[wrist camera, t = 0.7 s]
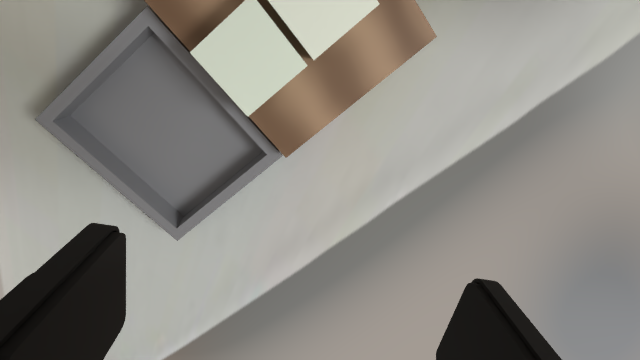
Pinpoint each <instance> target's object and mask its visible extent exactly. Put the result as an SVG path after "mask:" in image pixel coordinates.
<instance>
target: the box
mask: <svg viewBox="0 0 640 360" xmlns="http://www.w3.org/2000/svg"><path fill="white" fill-rule="evenodd" d="M35 120H36V121H37V122H38V123H39V124H41V125H42V126H43V127H44V128H45V129H47V130H48V131H49V132H50V133H51V134H52V135H54V136H55V137H56V138H57V139H58V140H59V141H61V142H62V143H63V144H64V145H65V146H66V147H68V148H69V149H70V150H71V151H72V152H74V153H75V154H76V155H77V156H78V157H79V158H81V159H82V160H83V161H84V162H85V163H86V164H88V165H89V166H90V167H91V168H92V169H93V170H95V171H96V172H97V173H98V174H99V175H101V176H102V177H103V178H104V179H105V180H106V181H108V182H109V183H110V184H111V185H112V186H113V187H115V188H116V189H117V190H118V191H119V192H120V193H122V194H123V195H124V196H125V197H126V198H128V199H129V200H130V201H131V202H132V203H133V204H135V205H136V206H137V207H138V208H139V209H140V210H142V211H143V212H144V213H145V214H146V215H147V216H149V217H150V218H151V219H152V220H153V221H155V222H156V223H157V224H158V225H159V226H160V227H162V228H163V229H164V230H165V231H166V232H167V233H169V234H170V235H171V236H172V237H173V238H174V239H176V240H177V241H178V240H179V239H180V238H181V237H183V236H184V235H185V234H186V233H187V232H189V231H190V230H191V229H192V228H194V227H195V226H196V225H197V224H199V223H200V222H201V221H202V220H204V219H205V218H206V217H207V216H209V215H210V214H211V213H212V212H214V211H215V210H216V209H217V208H218V207H220V206H221V205H222V204H223V203H225V202H226V201H227V200H228V199H230V198H231V197H232V196H233V195H235V194H236V193H237V192H238V191H240V190H241V189H242V188H243V187H244V186H246V185H247V184H248V183H249V182H251V181H252V180H253V179H254V178H256V177H257V176H258V175H259V174H261V173H262V172H263V171H264V170H266V169H267V168H268V167H269V166H271V165H272V164H273V163H274V162H275V161H277V160H278V159H279V158H280V157H282V153H281V152H280V151H279V150H278V148H277V147H276V146H275V145H274V144H273V143H272V142H271V141H270V140H269V138H268V137H267V136H266V135H265V134H264V133H263V132H262V131H261V130H260V128H259V127H258V126H257V125H256V124H255V123H254V122H253V121H252V120H251V118H250V117H249V116H248V117H247V116H246V115H245V113H244V112H243V111H242V110H241V109H240V108H239V107H238V106H237V105H236V103H235V102H234V101H233V100H232V99H231V98H230V97H229V96H228V95H227V93H226V92H225V91H224V90H223V89H222V88H221V87H220V86H219V85H218V83H217V82H216V81H215V80H214V79H213V78H212V77H211V76H210V75H209V73H208V72H207V71H206V70H205V69H204V68H203V67H202V66H201V65H200V64H199V62H198V61H197V60H196V59H195V58H194V57H193V56H192V55H191V54H190V51H189V50H188V48H187V47H186V46H185V45H184V44H183V43H182V42H181V41H180V40H179V38H178V37H177V36H176V35H175V34H174V33H173V32H172V31H171V30H170V28H169V27H168V26H167V25H166V24H165V23H164V22H163V21H162V20H161V18H160V17H159V16H158V15H157V14H156V13H155V12H154V11H153V10H152V8H151V7H148V6H147V7H146V8H145V9H144V10H143V11H142V12H141V13H140V14H139V15H138V16H137V17H136V18H135V19H134V20H133V21H132V22H131V23H130V24H129V25H128V26H127V27H126V28H125V29H124V30H123V31H122V32H121V33H120V34H119V35H118V36H117V37H116V38H115V39H114V40H113V41H112V42H111V43H110V44H109V45H108V46H107V47H106V48H105V49H104V50H103V51H102V52H101V53H100V54H99V55H98V56H97V57H96V58H95V59H94V60H93V61H92V62H91V63H90V64H89V65H88V66H87V67H86V68H85V69H84V70H83V71H82V72H81V73H80V74H79V75H78V76H77V77H76V78H75V79H74V80H73V82H72V83H71V84H70V85H69V86H68V87H67V88H66V89H65V90H64V91H63V92H62V93H61V94H60V95H59V96H58V97H57V98H56V99H55V100H54V101H53V102H52V103H51V104H50V105H49V106H48V107H47V108H46V109H45V110H44V111H43V112H42V113H41V114H40V115H39V116H38V117H37V118H36V119H35Z"/></svg>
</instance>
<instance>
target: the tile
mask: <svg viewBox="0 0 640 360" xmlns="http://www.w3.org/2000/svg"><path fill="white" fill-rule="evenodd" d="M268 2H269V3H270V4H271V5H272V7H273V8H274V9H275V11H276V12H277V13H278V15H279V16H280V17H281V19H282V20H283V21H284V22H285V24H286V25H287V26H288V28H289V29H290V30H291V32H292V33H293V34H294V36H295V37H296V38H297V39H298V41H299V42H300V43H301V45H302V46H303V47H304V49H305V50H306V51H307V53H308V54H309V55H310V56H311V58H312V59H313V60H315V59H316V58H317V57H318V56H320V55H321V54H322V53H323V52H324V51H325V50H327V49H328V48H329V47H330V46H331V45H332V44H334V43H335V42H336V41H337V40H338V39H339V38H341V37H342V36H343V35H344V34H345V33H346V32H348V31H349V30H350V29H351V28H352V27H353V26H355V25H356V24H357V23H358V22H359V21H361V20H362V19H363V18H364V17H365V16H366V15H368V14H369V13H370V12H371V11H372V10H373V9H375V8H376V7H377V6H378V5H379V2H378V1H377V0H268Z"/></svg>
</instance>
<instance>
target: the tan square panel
mask: <svg viewBox="0 0 640 360" xmlns="http://www.w3.org/2000/svg"><path fill="white" fill-rule="evenodd" d="M144 1H145V2H146V3H147V4H148V5H149V6H150V7H151V8H152V10H153V11H154V12H155V13H156V14H157V15H158V16H159V17H160V18H161V20H162V21H163V22H164V23H165V24H166V25H167V26H168V27H169V28H170V30H171V31H172V32H173V33H174V34H175V35H176V36H177V37H178V38H179V40H180V41H181V42H182V43H183V44H184V45H185V46H186V47H187V48H188V50H189V51H190V52H191V51H192V50H193V49H194V48H195V47H196V46H197V45H198V44H199V43H200V42H201V41H202V40H204V39H205V38H206V37H207V36H208V35H209V34H210V33H211V32H212V31H213V30H214V29H215V28H216V27H217V26H218V25H219V24H220V23H222V22H223V21H224V20H225V19H226V18H227V17H228V16H229V15H230V14H231V13H232V12H233V11H234V10H235V9H236V8H237V7H239V6H240V5H241V4H242V3H243V2H244V1H245V0H144ZM257 1H258V2H259V3H260V4H261V6H262V7H263V8H264V10H265V11H266V12H267V13H268V15H269V16H270V17H271V19H272V20H273V21H274V22H275V24H276V25H277V26H278V28H279V29H280V30H281V31H282V33H283V34H284V35H285V37H286V38H287V39H288V40H289V42H290V43H291V44H292V46H293V47H294V48H295V50H296V51H297V52H298V53H299V55H300V56H301V57H302V59H303V60H304V61H305V62H306V64H307V67H306V68H304V69H303V70H302V71H301V72H300V73H299V74H297V75H296V76H295V77H294V78H293V79H292V80H290V81H289V82H288V83H287V84H286V85H285V86H283V87H282V88H281V89H280V90H279V91H278V92H276V93H275V94H274V95H273V96H272V97H270V98H269V99H268V100H267V101H266V102H265V103H263V104H262V105H261V106H260V107H259V108H258V109H256V110H255V111H254V112H253V113H252V114H251V115H249V117H250V118H251V120H252V121H253V122H254V123H255V124H256V125H257V126H258V127H259V128H260V130H261V131H262V132H263V133H264V134H265V135H266V136H267V137H268V138H269V140H270V141H271V142H272V143H273V144H274V145H275V146H276V147H277V148H278V150H279V151H280V152H281V153H282V154H283V155H284V156H285V157H288V156H289V155H290V154H291V153H293V152H294V151H295V150H296V149H298V148H299V147H300V146H301V145H303V144H304V143H305V142H306V141H308V140H309V139H310V138H311V137H312V136H314V135H315V134H316V133H317V132H319V131H320V130H321V129H322V128H324V127H325V126H326V125H327V124H329V123H330V122H331V121H332V120H334V119H335V118H336V117H337V116H339V115H340V114H341V113H342V112H344V111H345V110H346V109H347V108H349V107H350V106H351V105H352V104H354V103H355V102H356V101H357V100H359V99H360V98H361V97H362V96H364V95H365V94H366V93H367V92H369V91H370V90H371V89H372V88H373V87H375V86H376V85H377V84H378V83H380V82H381V81H382V80H383V79H385V78H386V77H387V76H388V75H390V74H391V73H392V72H393V71H395V70H396V69H397V68H398V67H400V66H401V65H402V64H403V63H405V62H406V61H407V60H408V59H410V58H411V57H412V56H413V55H415V54H416V53H417V52H418V51H420V50H421V49H422V48H423V47H425V46H426V45H427V44H428V43H430V42H431V41H432V40H433V39H434V38H436V37H437V36H436V34H435V33H434V31H433V29H432V28H431V26H430V24H429V23H428V21H427V19H426V18H425V16H424V14H423V13H422V11H421V9H420V8H419V6H418V4H417V3H416V1H415V0H377V1H378V2H379V5H378V6H377V7H376V8H375V9H373V10H372V11H371V12H370V13H369V14H368V15H366V16H365V17H364V18H363V19H362V20H361V21H359V22H358V23H357V24H356V25H355V26H353V27H352V28H351V29H350V30H349V31H348V32H346V33H345V34H344V35H343V36H342V37H341V38H339V39H338V40H337V41H336V42H335V43H334V44H332V45H331V46H330V47H329V48H328V49H327V50H325V51H324V52H323V53H322V54H321V55H320V56H318V57H317V58H316V59H315V60H313V59H312V58H311V56H310V55H309V54H308V53H307V51H306V50H305V49H304V47H303V46H302V45H301V43H300V42H299V41H298V39H297V38H296V37H295V36H294V34H293V33H292V32H291V30H290V29H289V28H288V26H287V25H286V24H285V22H284V21H283V20H282V19H281V17H280V16H279V15H278V13H277V12H276V11H275V9H274V8H273V7H272V5H271V4H270V3H269V2H268V0H257Z"/></svg>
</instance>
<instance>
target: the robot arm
mask: <svg viewBox="0 0 640 360" xmlns="http://www.w3.org/2000/svg"><path fill="white" fill-rule="evenodd" d="M125 317H126V236H125V234H124V233H119V229H118V227H117V226H111V225H104V224H97V223H91V224H89V225H88V226H86V227H85V228H84V229H83V230H82V231H81V232H80V233H79V234H77V235H76V236H75V237H74V238H73V239H72V240H71V241H70V242H68V243H67V244H66V245H65V246H64V247H63V248H62V249H61V250H59V251H58V252H57V253H56V254H55V255H54V256H53V257H52V258H50V259H49V260H48V261H47V262H46V263H45V264H44V265H43V266H41V267H40V268H39V269H38V270H37V271H36V272H35V273H32V274H31V275H29V276H28V277H26V278H25V279H24V280H23V281H22V282H20V283H19V284H18V285H17V286H16V287H15V288H14V289H12V290H11V291H10V292H9V293H8V294H7V295H6V296H5V297H3V298H2V299H1V300H0V360H103V359H104V357H105V356H106V354H107V352H108V351H109V349H110V347H111V346H112V344H113V343H114V341H115V339H116V338H117V336H118V334H119V333H120V331H121V329H122V327H123V324H124V321H125ZM436 360H561V358H560V357H559V356H558V355H557V353H556V352H555V351H554V350H553V348H552V347H551V346H550V345H549V344H548V342H547V341H546V340H545V339H544V338H543V336H542V335H541V334H540V333H539V331H538V330H537V329H536V328H535V326H534V325H533V324H532V323H531V322H530V320H529V319H528V318H527V317H526V315H525V314H524V313H523V312H522V310H521V309H520V308H519V307H518V306H517V304H516V303H515V302H514V301H513V300H512V298H511V297H510V296H509V295H508V293H507V292H506V291H505V290H504V288H503V287H502V286H501V285H500V284H499V283H498V282H496V281H491V280H484V279H474V280H473V281H472V283H468V284H467V286H466V287H465V289H464V292H463V294H462V296H461V298H460V301H459V303H458V305H457V307H456V309H455V311H454V314H453V316H452V318H451V321H450V322H449V325H448V327H447V329H446V331H445V334H444V336H443V338H442V340H441V342H440V345H439V347H438V349H437V352H436Z"/></svg>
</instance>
